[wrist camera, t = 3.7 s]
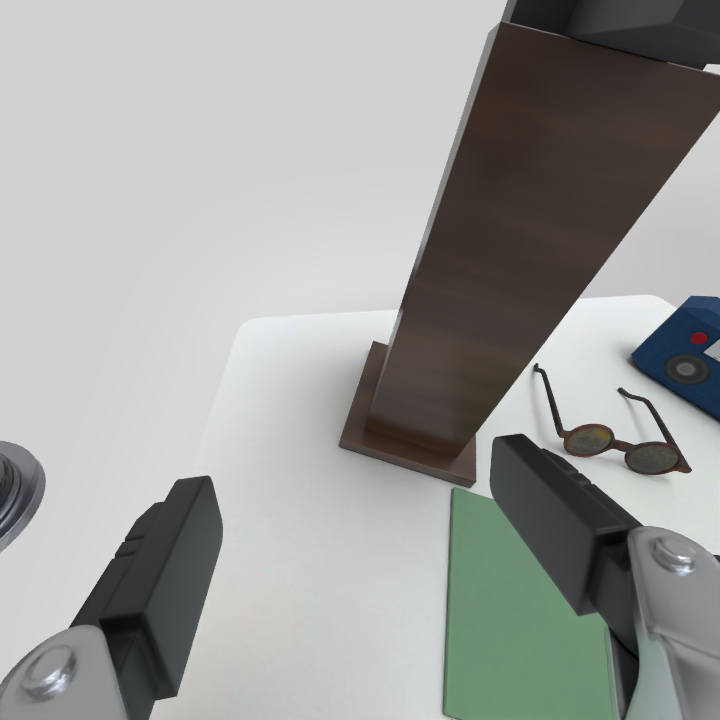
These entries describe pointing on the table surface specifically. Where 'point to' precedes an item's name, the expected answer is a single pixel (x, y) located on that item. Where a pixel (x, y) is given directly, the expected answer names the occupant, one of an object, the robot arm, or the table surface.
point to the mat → (514, 629)
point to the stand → (520, 232)
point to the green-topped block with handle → (631, 25)
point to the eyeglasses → (601, 438)
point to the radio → (687, 353)
